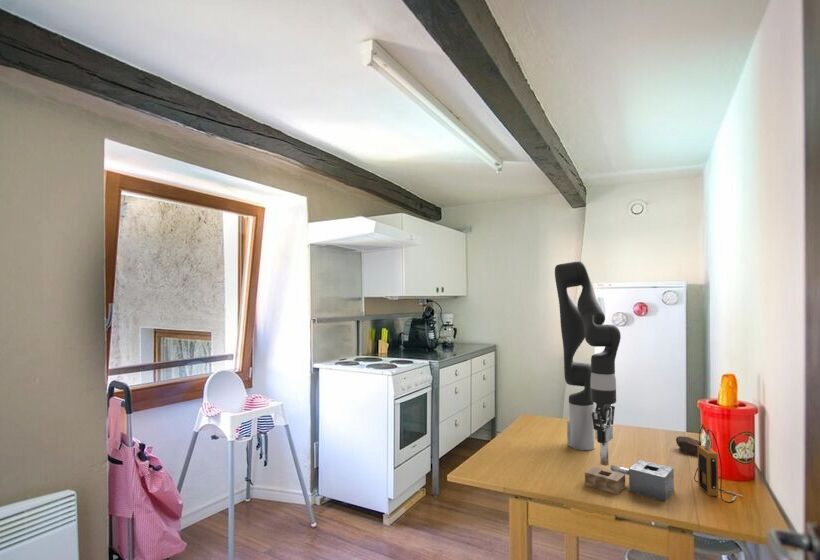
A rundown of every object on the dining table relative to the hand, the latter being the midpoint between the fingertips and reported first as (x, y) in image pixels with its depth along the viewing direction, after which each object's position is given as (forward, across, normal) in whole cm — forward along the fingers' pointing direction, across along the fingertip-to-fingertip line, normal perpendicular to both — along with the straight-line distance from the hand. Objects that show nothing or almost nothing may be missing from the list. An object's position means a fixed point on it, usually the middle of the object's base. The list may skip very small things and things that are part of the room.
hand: (604, 440), depth 145 cm
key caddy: (+14, 0, 0) cm, 14 cm away
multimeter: (+15, +19, -28) cm, 37 cm away
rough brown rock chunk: (+15, +52, -13) cm, 56 cm away
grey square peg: (+7, 0, 0) cm, 7 cm away
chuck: (+14, +6, -9) cm, 18 cm away
